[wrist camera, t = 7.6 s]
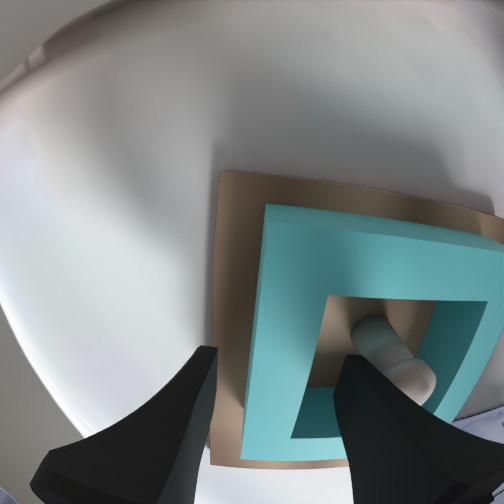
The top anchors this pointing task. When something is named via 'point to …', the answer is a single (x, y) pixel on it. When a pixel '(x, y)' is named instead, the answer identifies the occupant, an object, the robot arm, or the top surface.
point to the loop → (360, 285)
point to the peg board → (337, 307)
